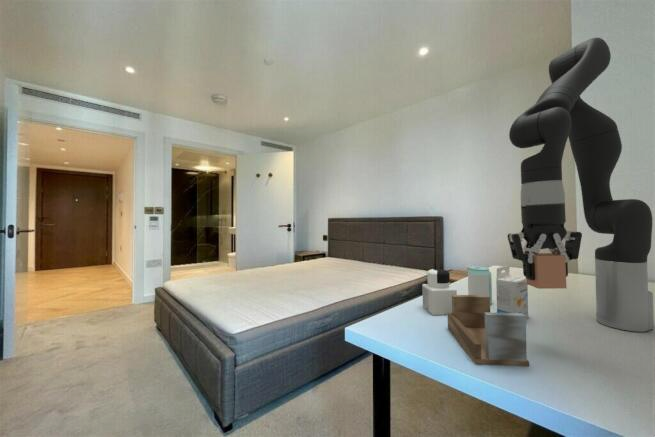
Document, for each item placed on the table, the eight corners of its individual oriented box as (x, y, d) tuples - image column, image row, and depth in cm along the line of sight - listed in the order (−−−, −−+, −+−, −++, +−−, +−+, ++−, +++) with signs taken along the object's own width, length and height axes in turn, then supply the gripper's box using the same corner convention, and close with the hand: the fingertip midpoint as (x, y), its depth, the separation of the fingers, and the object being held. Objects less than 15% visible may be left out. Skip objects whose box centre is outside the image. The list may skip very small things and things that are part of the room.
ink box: (516, 324, 71) (515, 270, 71) (496, 319, 75) (495, 268, 75) (529, 317, 75) (527, 266, 75) (509, 312, 79) (508, 264, 79)
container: (445, 306, 87) (444, 267, 87) (457, 314, 79) (456, 272, 79) (422, 307, 86) (421, 268, 86) (432, 315, 79) (431, 272, 79)
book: (552, 283, 59) (550, 252, 59) (566, 288, 55) (565, 255, 55) (525, 283, 60) (524, 253, 60) (538, 288, 56) (536, 256, 56)
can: (464, 301, 91) (463, 267, 91) (476, 298, 94) (475, 265, 94) (484, 307, 85) (483, 270, 85) (496, 303, 88) (495, 268, 88)
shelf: (487, 329, 68) (486, 291, 68) (529, 366, 51) (527, 315, 51) (447, 328, 69) (446, 291, 69) (475, 363, 53) (474, 314, 53)
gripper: (564, 202, 60) (567, 274, 60) (498, 205, 62) (501, 275, 62) (593, 200, 53) (597, 283, 53) (517, 203, 55) (520, 283, 55)
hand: (545, 278), depth 57 cm, fingers closed on book, 5 cm apart
